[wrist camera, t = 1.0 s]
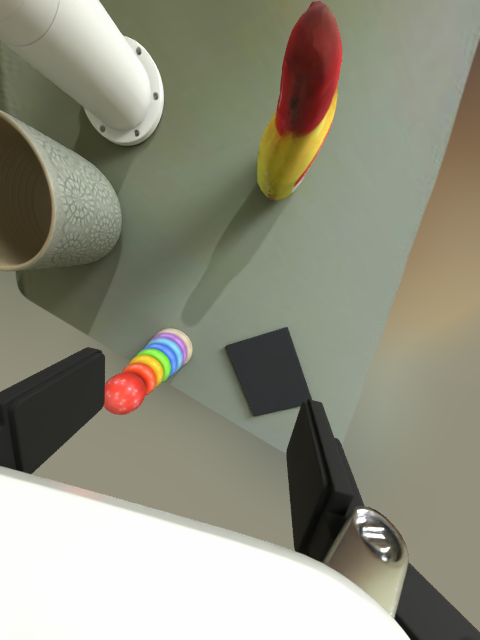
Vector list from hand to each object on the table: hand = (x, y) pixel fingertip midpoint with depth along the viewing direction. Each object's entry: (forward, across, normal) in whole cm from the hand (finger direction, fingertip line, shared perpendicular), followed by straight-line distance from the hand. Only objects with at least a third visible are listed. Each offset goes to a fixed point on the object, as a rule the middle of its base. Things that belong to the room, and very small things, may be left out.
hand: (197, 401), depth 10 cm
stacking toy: (+31, +13, +14) cm, 36 cm away
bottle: (+31, -2, -20) cm, 37 cm away
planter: (+31, +30, -7) cm, 44 cm away
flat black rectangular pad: (+31, -7, +15) cm, 35 cm away
